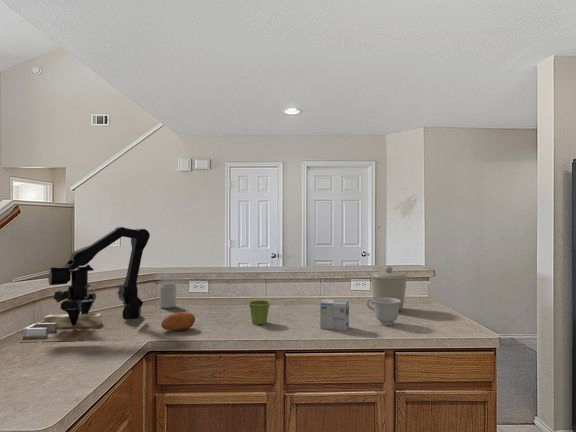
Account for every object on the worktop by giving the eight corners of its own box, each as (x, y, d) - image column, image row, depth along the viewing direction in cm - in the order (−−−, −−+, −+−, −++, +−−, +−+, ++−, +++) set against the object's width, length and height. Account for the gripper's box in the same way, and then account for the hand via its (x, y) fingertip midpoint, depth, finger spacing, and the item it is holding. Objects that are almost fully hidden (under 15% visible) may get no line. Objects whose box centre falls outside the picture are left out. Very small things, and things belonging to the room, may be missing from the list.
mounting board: (104, 325, 158) (104, 321, 158) (83, 341, 137) (83, 336, 137) (50, 326, 156) (50, 322, 156) (19, 342, 135) (19, 338, 135)
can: (171, 309, 188) (171, 284, 188) (157, 308, 189) (157, 283, 189) (178, 306, 195) (178, 282, 195) (164, 305, 196) (165, 281, 197)
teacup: (372, 317, 173) (372, 295, 173) (405, 323, 164) (405, 299, 165) (360, 323, 163) (360, 299, 163) (395, 329, 155) (395, 304, 155)
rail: (102, 323, 155) (102, 313, 155) (98, 326, 151) (98, 316, 151) (49, 324, 153) (49, 314, 153) (43, 327, 149) (43, 317, 149)
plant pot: (274, 321, 165) (274, 301, 166) (263, 327, 157) (263, 305, 157) (255, 319, 169) (255, 299, 169) (244, 324, 161) (244, 303, 161)
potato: (196, 331, 151) (196, 312, 151) (161, 334, 146) (162, 315, 146) (193, 326, 157) (193, 309, 157) (160, 329, 152) (160, 311, 153)
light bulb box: (349, 327, 158) (349, 300, 158) (346, 331, 152) (346, 303, 152) (323, 324, 161) (323, 298, 162) (319, 328, 155) (319, 301, 155)
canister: (412, 308, 193) (412, 265, 193) (401, 315, 178) (401, 269, 178) (377, 303, 203) (377, 263, 203) (364, 310, 187) (364, 266, 188)
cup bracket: (56, 330, 145) (56, 322, 145) (45, 337, 137) (46, 328, 137) (34, 331, 144) (34, 323, 144) (22, 337, 136) (22, 329, 136)
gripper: (68, 279, 161) (68, 317, 161) (45, 287, 142) (45, 329, 142) (96, 279, 162) (96, 316, 162) (77, 286, 144) (77, 328, 143)
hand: (79, 322), depth 152 cm, fingers open, 9 cm apart
